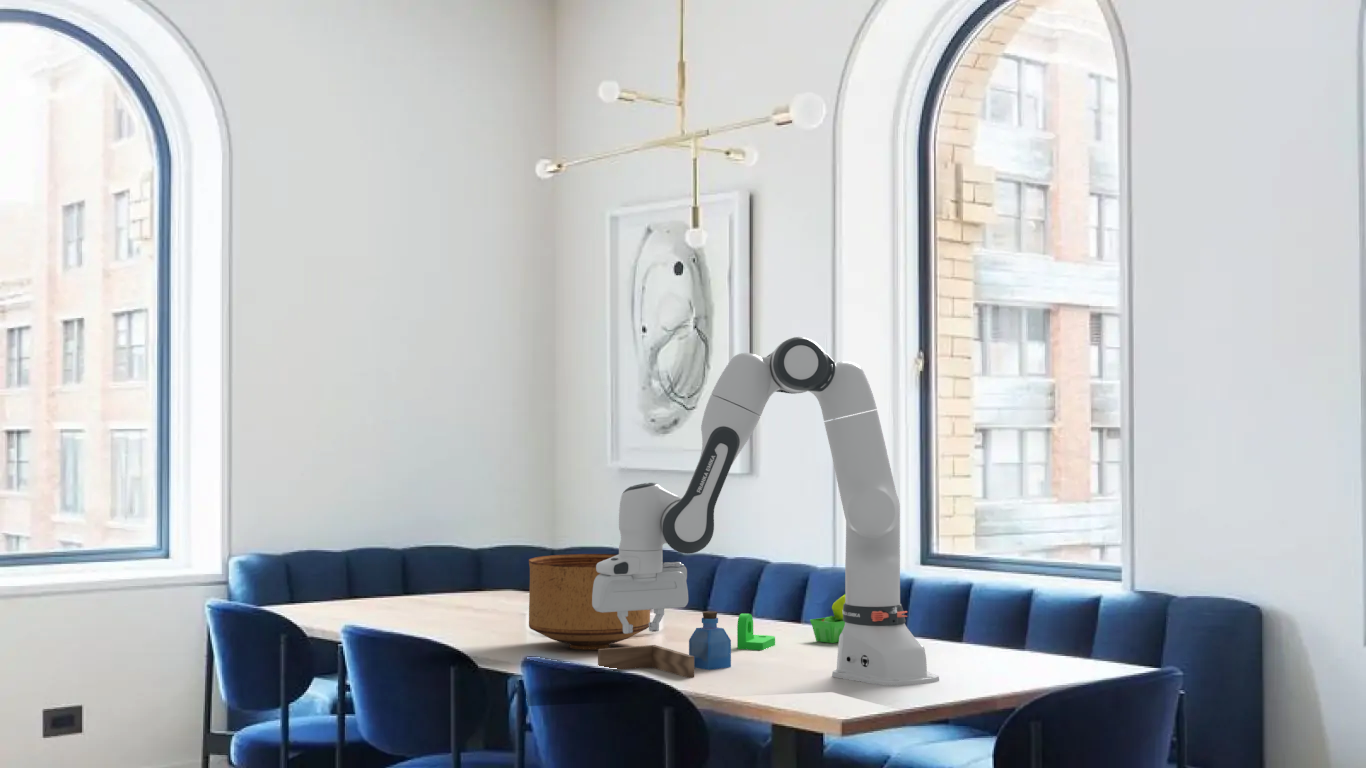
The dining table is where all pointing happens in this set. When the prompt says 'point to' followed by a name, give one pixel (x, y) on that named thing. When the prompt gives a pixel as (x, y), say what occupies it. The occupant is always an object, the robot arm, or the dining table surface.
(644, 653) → the l-shaped wooden board
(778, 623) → the dining table surface
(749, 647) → the mechanical part
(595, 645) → the pot
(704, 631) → the perfume bottle
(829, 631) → the fruit basket
